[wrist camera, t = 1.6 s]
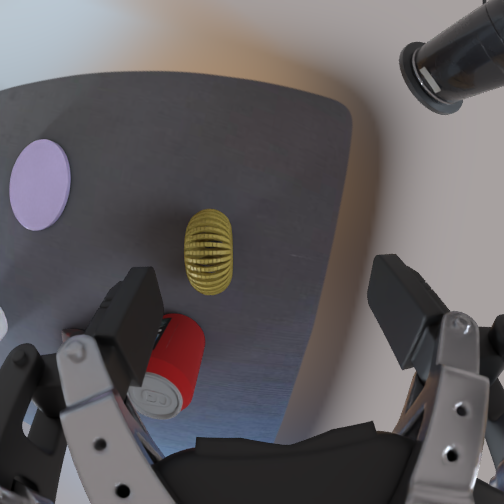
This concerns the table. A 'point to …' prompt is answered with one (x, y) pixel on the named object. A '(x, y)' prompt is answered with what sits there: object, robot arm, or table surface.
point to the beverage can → (170, 369)
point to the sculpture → (209, 252)
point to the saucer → (40, 184)
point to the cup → (3, 324)
